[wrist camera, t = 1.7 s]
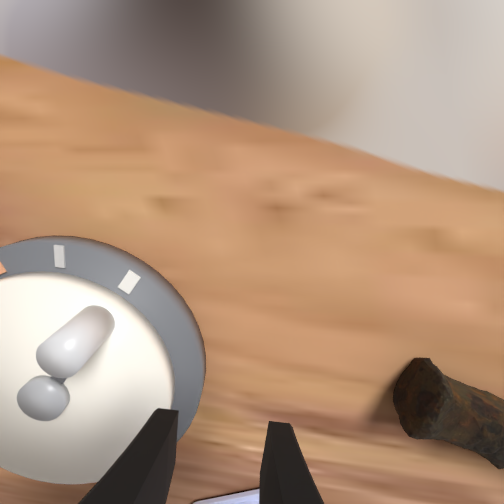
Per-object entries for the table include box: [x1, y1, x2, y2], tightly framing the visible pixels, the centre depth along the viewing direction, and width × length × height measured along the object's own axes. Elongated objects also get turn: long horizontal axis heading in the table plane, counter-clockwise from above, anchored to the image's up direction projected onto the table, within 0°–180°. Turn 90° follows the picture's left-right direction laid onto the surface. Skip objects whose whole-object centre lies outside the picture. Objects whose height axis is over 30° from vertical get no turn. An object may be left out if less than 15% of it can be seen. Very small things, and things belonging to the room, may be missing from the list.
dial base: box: [0, 236, 206, 442], centre depth 19 cm, size 16×16×2 cm
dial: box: [0, 271, 175, 484], centre depth 15 cm, size 13×13×4 cm
